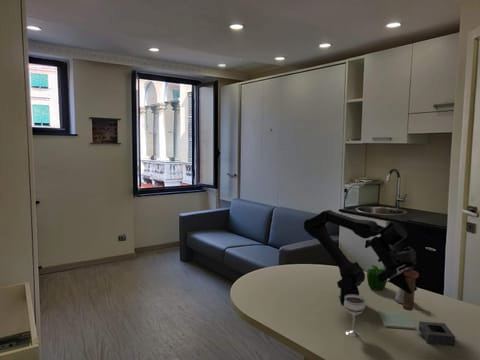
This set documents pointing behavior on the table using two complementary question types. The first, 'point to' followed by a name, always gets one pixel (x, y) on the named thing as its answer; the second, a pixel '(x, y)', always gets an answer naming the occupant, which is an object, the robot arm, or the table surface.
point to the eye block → (436, 333)
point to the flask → (399, 296)
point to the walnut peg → (410, 280)
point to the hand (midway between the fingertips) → (413, 291)
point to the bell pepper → (375, 278)
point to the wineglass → (354, 310)
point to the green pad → (396, 320)
